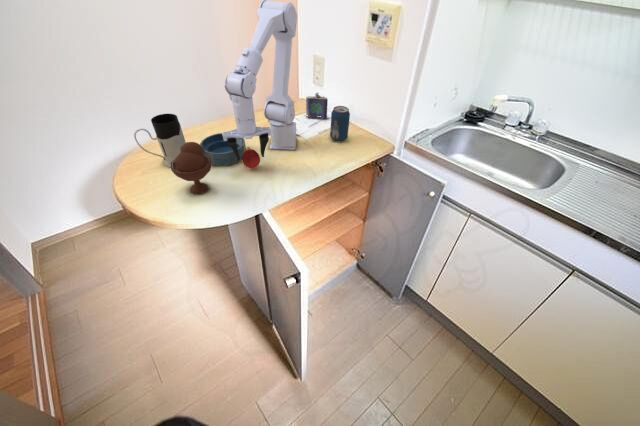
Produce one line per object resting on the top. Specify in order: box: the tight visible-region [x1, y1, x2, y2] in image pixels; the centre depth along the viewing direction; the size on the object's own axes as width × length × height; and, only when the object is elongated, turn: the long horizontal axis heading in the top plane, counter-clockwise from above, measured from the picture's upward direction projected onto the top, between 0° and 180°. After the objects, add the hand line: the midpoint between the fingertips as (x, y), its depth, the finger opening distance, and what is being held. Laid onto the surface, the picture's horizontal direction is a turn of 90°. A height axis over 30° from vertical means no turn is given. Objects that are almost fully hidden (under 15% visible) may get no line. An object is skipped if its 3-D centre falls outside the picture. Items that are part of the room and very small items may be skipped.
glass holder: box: [133, 113, 187, 168], centre depth 94 cm, size 9×14×15 cm, turn 131°
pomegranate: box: [241, 146, 261, 170], centre depth 95 cm, size 6×6×8 cm
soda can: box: [329, 105, 351, 143], centre depth 111 cm, size 7×7×12 cm
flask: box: [305, 92, 329, 120], centre depth 126 cm, size 9×3×11 cm, turn 84°
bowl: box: [199, 132, 247, 167], centre depth 102 cm, size 15×15×5 cm
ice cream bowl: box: [170, 141, 212, 196], centre depth 83 cm, size 11×11×15 cm
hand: (250, 157), depth 95 cm, fingers open, 7 cm apart
